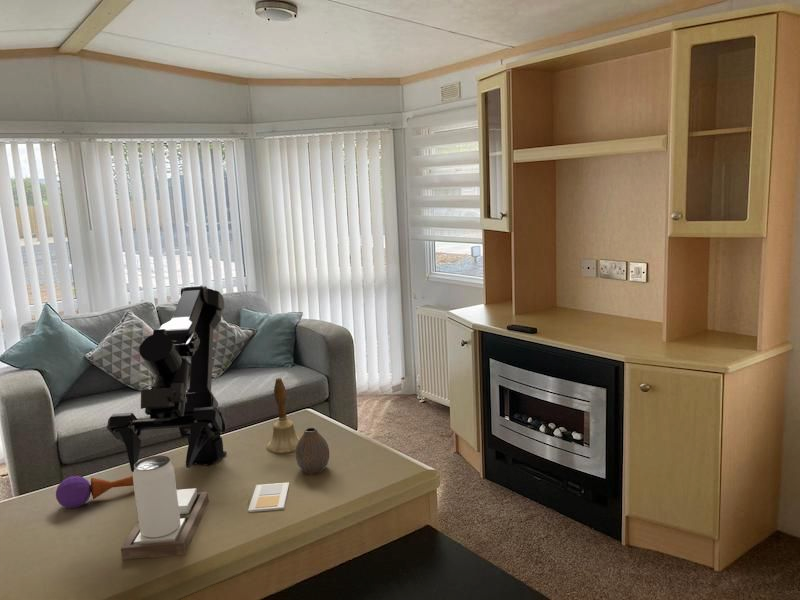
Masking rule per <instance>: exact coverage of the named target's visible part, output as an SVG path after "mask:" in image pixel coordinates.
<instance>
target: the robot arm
mask: <svg viewBox="0 0 800 600" xmlns="http://www.w3.org/2000/svg"><path fill="white" fill-rule="evenodd" d="M224 300H225V299H224V296H223V295H222V293H221V292H220V291H218V290H215V289H212V288H209V287H207V286H206V285H202V284H201V285H200V284H199V285H184V286H183V287H181V288H180V298H179V300H178V302H177V306H176V307H175V310H174V312H173V315H172V317H171V319H170V320H169V321H166V322H165V323H163V324H161V326H160V327H159V328H157V329H153V331H152V334H151V335H150V336H149V335H148V336H147V337H146V338H144V340H143V341H141V344H140V345H139V347H138V351H139V354H140V357H141V358H142V360H143V361H144V363H145V364H146V366H147V368H148V369H149V370H150V372H151V374H153V375H155V378H154V386H151V388H149V389H148V388H147V389H141V390H140V409H144V413H145V414H146V416H149V418H140V419H139V418H137V416H135V414H134V413H133V412H124V413H112V415H111V416H109V418H108V420H107V424H106V429H107V430H108V431H109V433H111V434H112V436H113V437H115V439H116V440H120V441H121V442H122V443H123V444H124V446H125V449H126V453H127V457H128V462H129V466H130V467H129V468H130V471H131V472H132V473H133V472H134V469H135V468H134V465H135V463H136V462H138V461H139V458H140V457H139V456H140V449H141V443H142V440H141V439H140V438H139V437H140V436H141V434H142V433H141V432H142V431H147V430H148V431H149V430H160V429H172V428H173V429H174V428H175V429H176V428H178V431H179V432H180V433H179V434H180V438H187V444H188V446H187V451H186V452H187V453H186V457H185V468H186V469H190V468H191V466H192V465H202V466H212V465H214V464H215V463H216V462H218V461H219V460H221V458H223V457H224V456H226V455H227V451H225V450H224V443H223V437H221V434H222V433H224V432H226V431H227V425H226V420H225V416H224V414H223V412H222V410H221V408H220V406H219V402H218V400H217V398H216V397H215V396H214V394H213V392H212V378H213V377H212V376H213V373H212V372H213V354H214V353H213V350H214V348H213V347H214V330H215V329H216V327H217V326H218V325H219V323H220V322H221V320H222V314H223V313H222V312H223V311H224V310H225V301H224ZM188 357H190V365H189V364H188V362H187V360H186V359H183V358H188ZM189 369H190V371H189ZM188 378H189V379H188ZM188 381H189V388H188V387H187V386H188ZM187 389H188V390H187Z"/></svg>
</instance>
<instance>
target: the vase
mask: <svg viewBox="0 0 800 600" xmlns="http://www.w3.org/2000/svg"><path fill="white" fill-rule="evenodd" d="M299 438H300V440H299V441H298V443H297V446H296V451H295V460H296V463H297V466H298V468H299V469H301V470H302V471H303V472H304V473H306V474H309V475H310V474H311V475H313V474H318V473H320V472H322V471H324V470H325V468H326V467H327V466H328V463H329V460H330V448H329V444H328V443H327V440H326V439H325V438H324V437H323V436H322V435H321V434H320V433H319V431H318V429H317V428H316V427H307V428H305V429H304V430H303V434H302V436H301V437H299Z"/></svg>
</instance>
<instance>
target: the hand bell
mask: <svg viewBox="0 0 800 600" xmlns="http://www.w3.org/2000/svg"><path fill="white" fill-rule="evenodd" d="M273 388H274V389H273V394H274V395H273V396H274V399H275V402H276V404H277V409H278V411H277V412H278V421H276V422H274V424H273V426H272V428H273V429H272V436H271V439H270V441H269V442H268V443H267V444H266V450H267V451H269V452H270V453H273V454H287V453H292V452H296V446H297V443H298V441H299V440H300V438H301V437H299V436H298V434H297V432H296V429H295V426H294V422H293V421H292V420H289V419H288V418H287V412H286V400H287V390H286V386H285V383H284V382H283V379H282V378H281V377H278V378H275V384H274V387H273Z"/></svg>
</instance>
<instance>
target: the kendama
mask: <svg viewBox="0 0 800 600" xmlns="http://www.w3.org/2000/svg"><path fill="white" fill-rule="evenodd" d="M131 486H132V487H134V484H133V475H131V476H126V477H123V478H119V479H117V480H114V481H111V480H110V481H109V480H106V479H105V480H104V479H101V478H96V477H91V478H90V482H89V480H88V479H86V478H85V477H83V476H80V475H72V476H68V477H66V478H65V479H63V480H62V481H61V482H60V483H59V484H58V485H57V488H56V490H55V498H56V500H57V502H58V504H59V505H61V506H62V507H63V508H67V509H74V508H75V509H77V508H79V507H81V506H83V505H84V504H86V502H87V501H88V500H89V499H90V496H91V497H92V499H93V500H96V499H97V498H99V497H100V496H102V495H103V494H104V493H106V492H108V491H109V490H111V489H113V488H120V487H121V488H123V487H131Z"/></svg>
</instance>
